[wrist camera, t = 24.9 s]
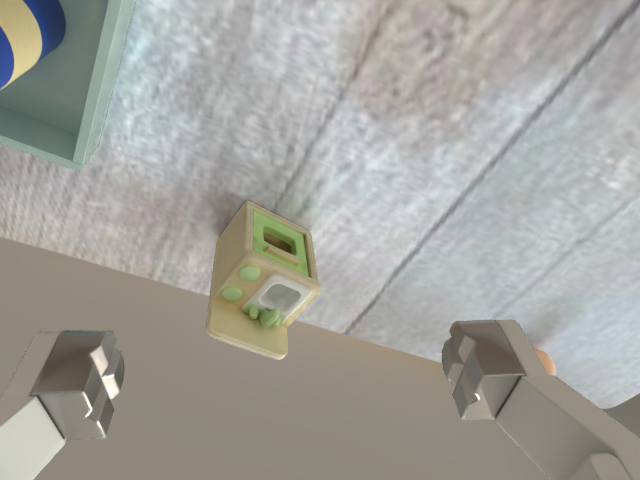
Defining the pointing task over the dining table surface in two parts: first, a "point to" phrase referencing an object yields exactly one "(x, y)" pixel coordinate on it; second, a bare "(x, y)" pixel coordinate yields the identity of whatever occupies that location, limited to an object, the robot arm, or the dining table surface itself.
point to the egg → (546, 362)
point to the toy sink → (260, 281)
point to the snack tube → (27, 34)
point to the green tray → (68, 86)
